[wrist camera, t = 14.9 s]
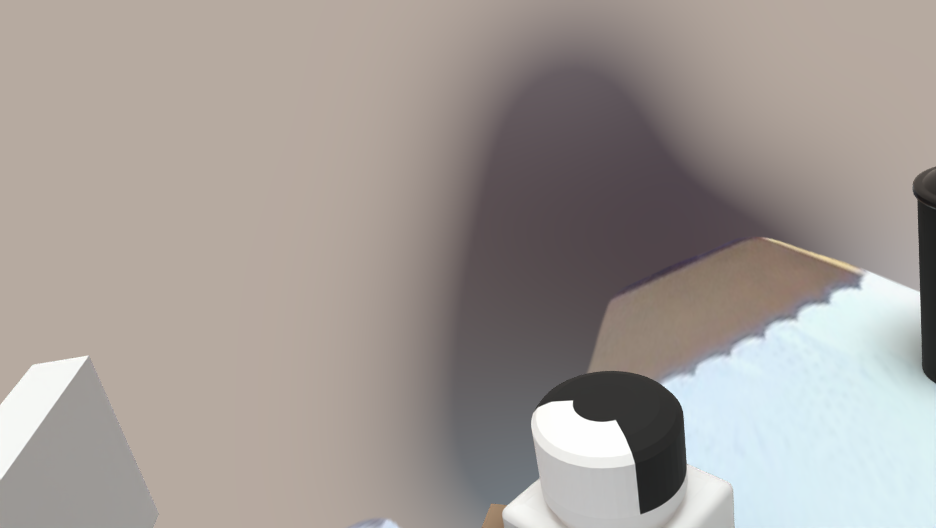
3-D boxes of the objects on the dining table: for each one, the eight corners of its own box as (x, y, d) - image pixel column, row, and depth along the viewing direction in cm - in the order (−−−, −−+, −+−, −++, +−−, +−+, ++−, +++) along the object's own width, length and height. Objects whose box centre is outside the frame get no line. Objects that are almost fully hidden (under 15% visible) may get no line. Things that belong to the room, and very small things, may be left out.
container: (613, 532, 46) (589, 335, 40) (740, 602, 41) (733, 385, 35) (520, 624, 42) (478, 418, 36) (648, 716, 36) (623, 489, 30)
